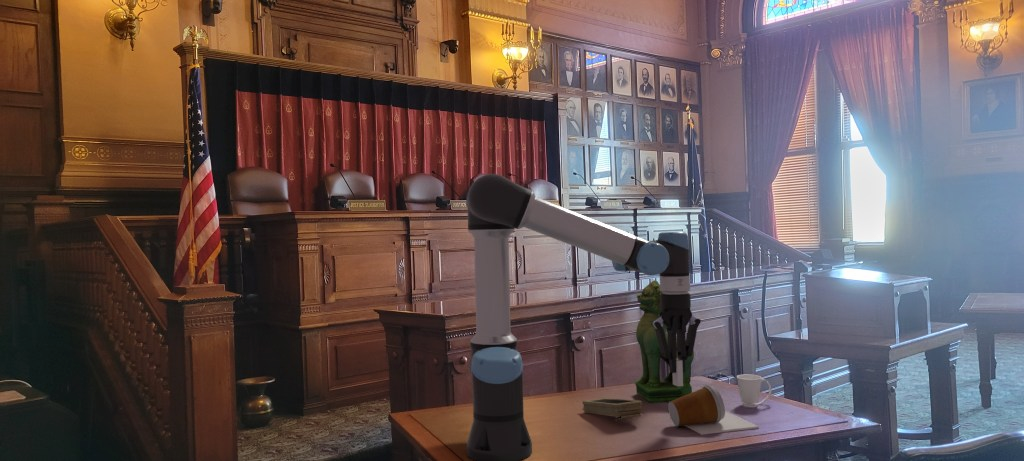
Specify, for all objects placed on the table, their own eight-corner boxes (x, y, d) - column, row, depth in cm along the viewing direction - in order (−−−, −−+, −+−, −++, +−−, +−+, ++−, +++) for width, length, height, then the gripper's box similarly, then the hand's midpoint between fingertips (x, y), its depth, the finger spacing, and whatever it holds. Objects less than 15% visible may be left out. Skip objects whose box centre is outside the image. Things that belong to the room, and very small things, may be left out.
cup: (732, 403, 205) (731, 374, 205) (765, 400, 206) (764, 372, 206) (743, 409, 198) (743, 380, 198) (777, 406, 199) (777, 377, 199)
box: (619, 424, 182) (617, 404, 183) (576, 418, 202) (574, 400, 203) (646, 420, 185) (644, 400, 186) (601, 415, 205) (599, 397, 206)
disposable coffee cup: (669, 388, 181) (713, 377, 184) (662, 404, 189) (704, 393, 191) (685, 423, 176) (729, 411, 178) (677, 438, 183) (719, 427, 186)
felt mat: (701, 434, 176) (701, 432, 176) (670, 418, 191) (670, 416, 191) (758, 428, 180) (758, 426, 180) (724, 412, 195) (724, 410, 195)
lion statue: (631, 393, 219) (628, 279, 219) (682, 390, 222) (679, 277, 222) (646, 404, 206) (643, 282, 205) (701, 400, 209) (698, 280, 208)
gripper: (658, 295, 177) (661, 390, 178) (705, 292, 181) (708, 386, 181) (645, 292, 185) (648, 384, 185) (691, 289, 188) (693, 379, 188)
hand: (677, 385), depth 183 cm, fingers closed
